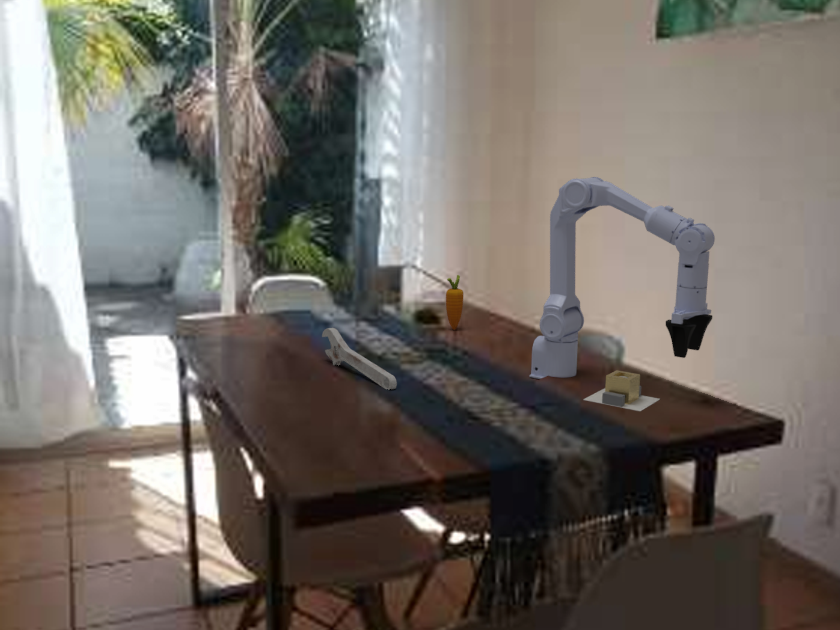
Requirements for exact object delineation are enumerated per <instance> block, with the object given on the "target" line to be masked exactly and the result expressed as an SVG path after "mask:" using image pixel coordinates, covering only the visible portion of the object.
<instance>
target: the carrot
mask: <svg viewBox="0 0 840 630" xmlns="http://www.w3.org/2000/svg"><path fill="white" fill-rule="evenodd" d="M460 279H461V275H459V274H457V275H456V280H455V281H453V280H452V278H451V277H448V278H447V279H446V280H447V282H448V283H449V284H450V286H451V288H449V289H447V290H446V293H445V309H446V315H447V320H448V322H449V325H450V327H451V329H452V330H453V331H456V329H457V327H458V326H459V324H460V321H461V318H462V315H463V314H462V313H463V307H464V290H463V289H461V288H459V283H460Z"/></svg>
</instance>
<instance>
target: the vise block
mask: <svg viewBox="0 0 840 630" xmlns="http://www.w3.org/2000/svg"><path fill="white" fill-rule="evenodd" d="M619 377H625V376H619ZM625 378H628V377H625ZM660 399H661V398H657V397H653V396H646V395H642V385H639V399H637V400H635V401H634V402H632V403H630V404H629V405H628V404H625V395H622V394H617V393H612V392H605V387H604V388H602V389H601V390H598V391H597V392H595V393H593V394H591V395H589V396H587V397H585V398H583V401H588V402H591V403H597V404H601V405H607V406H612V407H617V408H621V409H622V408H623V409H626V410H631V411H636V412H642V411H643V410H645V409H646V408H648V407H650V406H651V405H653V404H655V403H657V402H658V401H659V400H660Z"/></svg>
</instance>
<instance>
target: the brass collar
mask: <svg viewBox="0 0 840 630" xmlns="http://www.w3.org/2000/svg"><path fill="white" fill-rule="evenodd" d="M619 376H625V377H628V378H625V377H619ZM640 381H641V374H640V373H635V372H634V373H633V372H628V371H623V370H617V369H616V370H614V371H613V372H611V373H608V374H606V376H605V386H604V388H605V392H612V393H617V394H622V395H625V404H628V405H629V404H630V403H632V402H634V401H635V400H637V399H639V386H641V385H640V383H641V382H640Z"/></svg>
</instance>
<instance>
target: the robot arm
mask: <svg viewBox="0 0 840 630" xmlns="http://www.w3.org/2000/svg"><path fill="white" fill-rule="evenodd" d="M602 206H604V207H607V206H609V207H612V208H614V209H616V210H619V211H621V212H623V213H625V214H627V215H629V216H631V217H633V218H635V219H637V220H639V221H641V222H643V223H644V226H645V229H646V232H648V233H651V234H652V235H654V236H656V237H658V238H659V239H662V240H663V241H665V242H667V243H668V244H671V245H673V246H675V248H676V250H677V251H678V253H679V254H678V255H679V256H678V264H677V265H678V266H677V276H676V277H677V279H676V293H675V294H676V295H675V303H674V304H675V306H674V307H673V312H672V313H671V319H667V320H665V327H666V329H667V331H668V333H669V337H670V340H671V345H672V350H673V352H672V353H673V356H674V357H676V358H682V359H685V358H687V355H688V350H691V351H692V350H693V351H700V349H701V346H702V342H703V340H704V339H703V338H704V337H705V333H706V330H707V329H708V326H709V324H710V323H711V322H712V320H713V315H712V310H711V309H708V302H707V294H708V293H707V290H708V289H707V288H708V279H709V278H708V277H709V267H710V263H709V261H710V260H709V259H710V250H711V249H712V248H713V246H714V244H715V240H716V238H715V233H714V232H713V230H712V229H711V227H709V226H708V225H707V224H706V223H701V222H699V223H694V221H695V219H693V218H691V217H688V218H687V217H684V216H682V215H680V214H679V213H677V212H675V211H674V207H673V206H671V205H665V206H663V205H658V206H655V207H652V206H651V205H648V204H647V203H646V202H644V201H642V200H640V199H639V198H637V197H635V196H634V195H632V194H631V193H629V192H626V191H625V190H624V189H623V188H620V187H619V186H616V185H615V184H614V183H612V182H610V181H607V180H604V179H602V178H600V177H599V176H591V177H587V178H578V177H576V178H572V179H570V180H568V181H567V182H565V184H563V185H562V186H561V187H559V189H558V196H557V198H556V201H555V202H554V204H553V207H552V209H551V210H550V214H549V215H550V216H549V296H548V298H547V299H546V301H545V303H544V305H543V312H542V315H541V317H540V319H539V320H540V321H539V329H540V330H539V331H540V332H541V334H542V335H538V336H537V337H536V338H534V341H533V344H532V349H531V366H530V367H531V369H530V371H531V372H530V373H531V374H529V378H533V379H538V380H541V379H544V378H546V377H547V376H548V377H554V378H571V377H575V376H577V368H578V367H577V365H578V364H577V363H578V345H579V343H578V342H579V332H580V331H581V330H582V329H583V327H584V323H585V317H584V314H583V312H582V309H581V301H580V299H579V298H578V296H577V295H576V242H577V241H576V239H577V238H576V231H577V228H576V223H577V221H578V220H580V219H581V218H582V217H583V216H584V215H585V214H586V213H587V212H590V211H591V210H593V209H596V208H598V207H602Z"/></svg>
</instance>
